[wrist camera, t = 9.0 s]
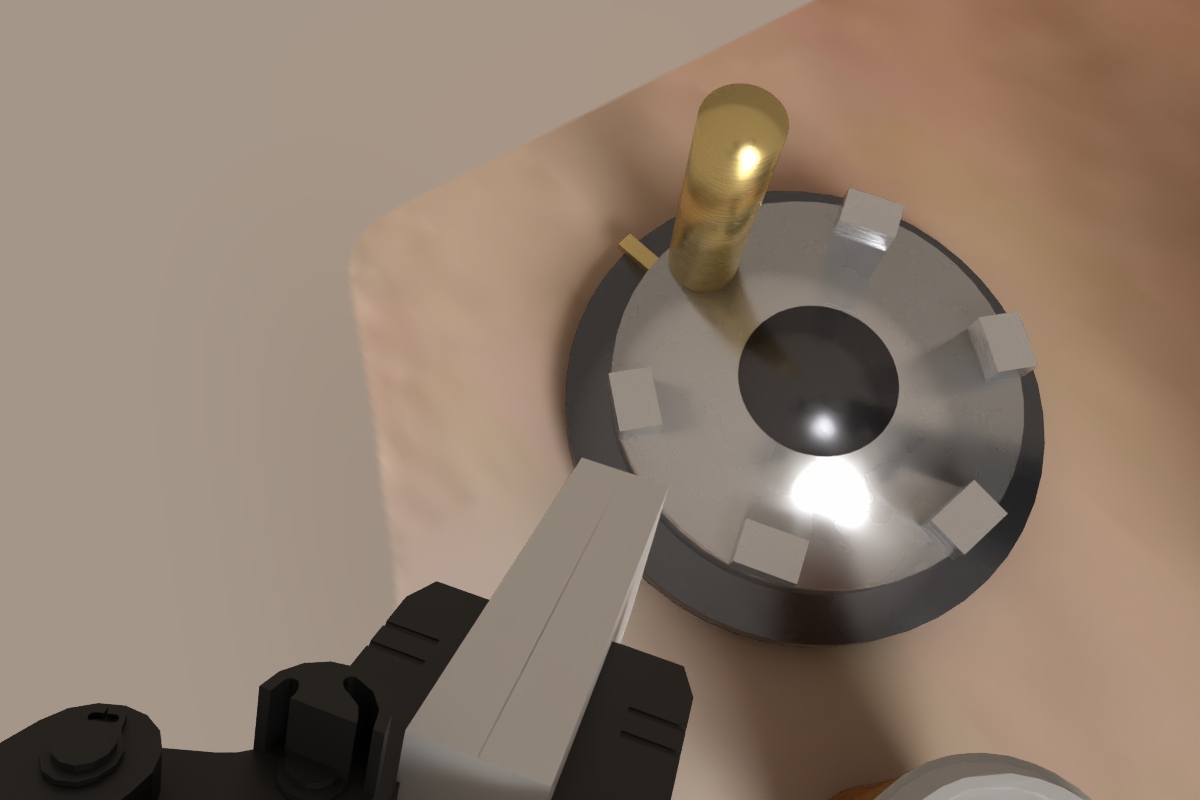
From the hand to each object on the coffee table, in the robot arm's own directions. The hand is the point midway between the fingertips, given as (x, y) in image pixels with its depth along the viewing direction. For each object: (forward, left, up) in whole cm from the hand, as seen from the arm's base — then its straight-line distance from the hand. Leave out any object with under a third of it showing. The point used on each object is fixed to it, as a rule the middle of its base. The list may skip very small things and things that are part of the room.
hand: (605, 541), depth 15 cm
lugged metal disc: (-6, -14, -23) cm, 27 cm away
